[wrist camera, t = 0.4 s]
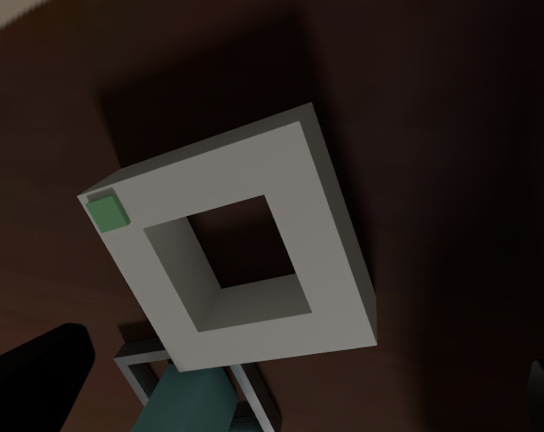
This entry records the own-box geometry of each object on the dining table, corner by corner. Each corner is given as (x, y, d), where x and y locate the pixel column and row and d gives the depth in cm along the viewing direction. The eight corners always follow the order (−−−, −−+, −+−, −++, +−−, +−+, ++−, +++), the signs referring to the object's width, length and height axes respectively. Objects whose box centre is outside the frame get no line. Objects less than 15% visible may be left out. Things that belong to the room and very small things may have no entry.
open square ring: (282, 421, 30) (278, 439, 28) (178, 429, 33) (170, 446, 31) (234, 323, 27) (227, 339, 25) (124, 342, 30) (113, 358, 28)
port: (375, 295, 24) (377, 349, 20) (203, 326, 27) (177, 376, 24) (311, 101, 20) (297, 122, 16) (120, 168, 23) (73, 198, 20)
